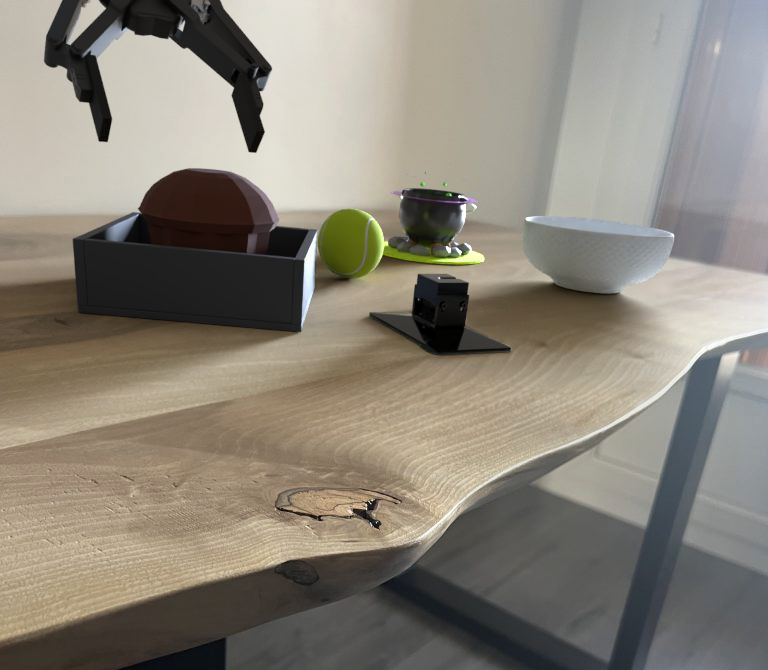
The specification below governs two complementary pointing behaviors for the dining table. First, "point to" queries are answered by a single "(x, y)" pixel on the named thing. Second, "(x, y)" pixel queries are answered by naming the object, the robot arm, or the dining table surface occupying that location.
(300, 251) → the bin
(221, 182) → the muffin
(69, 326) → the dining table surface
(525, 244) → the cereal bowl
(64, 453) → the dining table surface
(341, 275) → the tennis ball
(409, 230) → the toy cauldron
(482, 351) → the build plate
